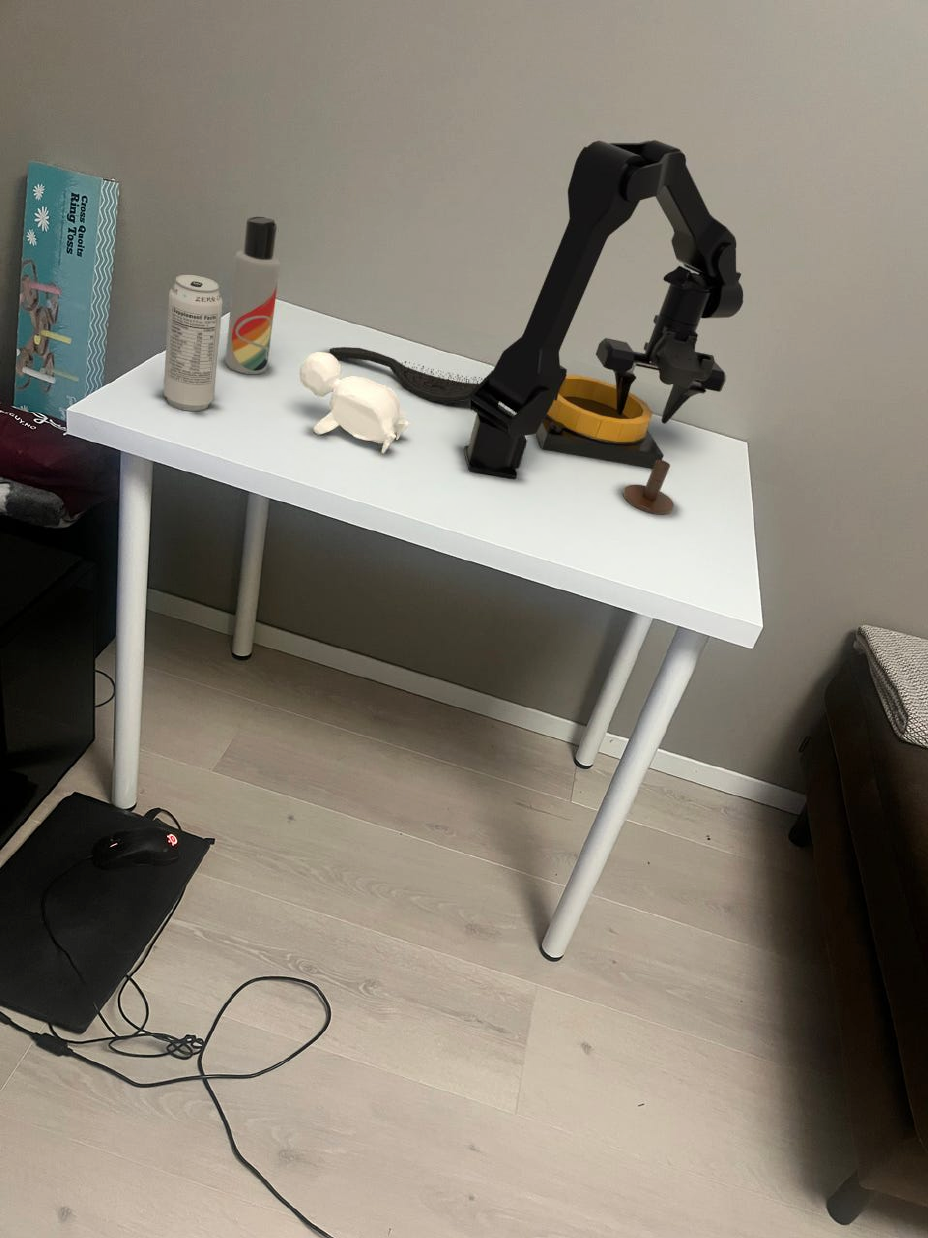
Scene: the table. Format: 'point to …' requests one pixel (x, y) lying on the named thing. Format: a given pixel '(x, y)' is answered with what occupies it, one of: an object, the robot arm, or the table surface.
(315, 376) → the white turtle figurine
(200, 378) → the energy drink can
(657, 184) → the robot arm
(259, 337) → the lotion bottle
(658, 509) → the peg
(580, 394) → the ring
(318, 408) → the table surface
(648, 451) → the hot plate
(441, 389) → the hairbrush
